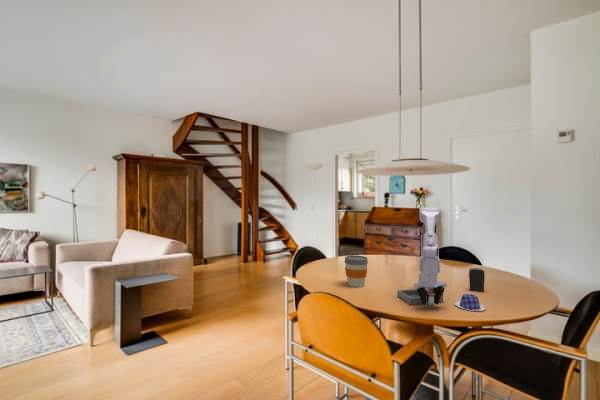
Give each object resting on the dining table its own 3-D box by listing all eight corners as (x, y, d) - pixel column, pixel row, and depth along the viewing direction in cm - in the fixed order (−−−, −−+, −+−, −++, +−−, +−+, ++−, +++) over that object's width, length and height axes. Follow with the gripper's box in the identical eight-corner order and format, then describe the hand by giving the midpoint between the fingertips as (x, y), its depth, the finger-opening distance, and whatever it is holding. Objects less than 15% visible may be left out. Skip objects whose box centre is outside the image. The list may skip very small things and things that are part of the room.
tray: (397, 296, 147) (397, 290, 147) (418, 295, 149) (418, 289, 149) (410, 305, 135) (410, 298, 135) (432, 303, 137) (432, 297, 137)
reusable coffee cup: (367, 288, 159) (368, 260, 159) (343, 287, 161) (344, 259, 161) (367, 282, 171) (367, 255, 171) (345, 280, 174) (345, 255, 174)
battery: (483, 290, 157) (483, 268, 157) (484, 292, 153) (485, 269, 153) (468, 288, 159) (468, 267, 159) (469, 290, 156) (469, 268, 156)
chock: (427, 299, 142) (427, 285, 142) (438, 299, 143) (438, 284, 143) (433, 303, 138) (433, 288, 138) (444, 302, 139) (444, 287, 139)
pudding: (473, 302, 140) (474, 291, 140) (492, 312, 128) (492, 299, 128) (449, 302, 139) (449, 291, 139) (465, 313, 127) (465, 300, 127)
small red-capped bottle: (422, 306, 134) (422, 290, 134) (431, 305, 135) (431, 290, 135) (428, 309, 130) (428, 294, 130) (437, 309, 130) (437, 293, 130)
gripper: (420, 276, 127) (420, 308, 127) (451, 274, 129) (451, 306, 130) (411, 272, 134) (411, 302, 134) (440, 270, 136) (440, 300, 136)
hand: (430, 304), depth 132 cm, fingers open, 5 cm apart
